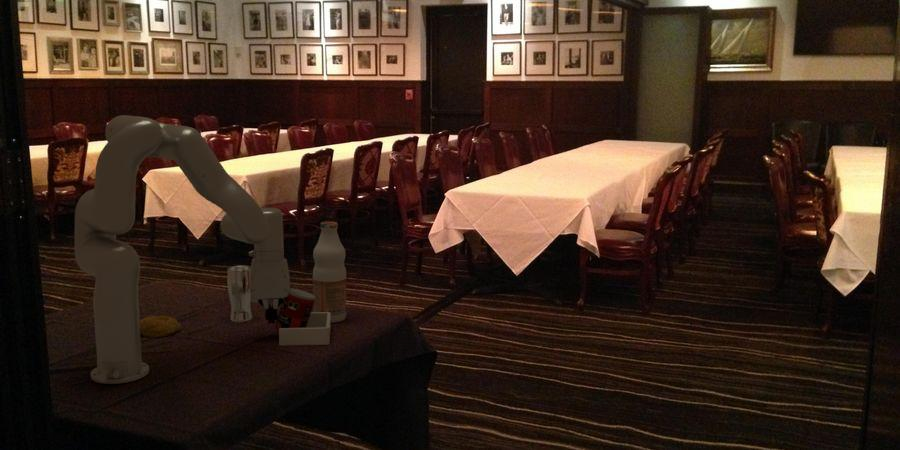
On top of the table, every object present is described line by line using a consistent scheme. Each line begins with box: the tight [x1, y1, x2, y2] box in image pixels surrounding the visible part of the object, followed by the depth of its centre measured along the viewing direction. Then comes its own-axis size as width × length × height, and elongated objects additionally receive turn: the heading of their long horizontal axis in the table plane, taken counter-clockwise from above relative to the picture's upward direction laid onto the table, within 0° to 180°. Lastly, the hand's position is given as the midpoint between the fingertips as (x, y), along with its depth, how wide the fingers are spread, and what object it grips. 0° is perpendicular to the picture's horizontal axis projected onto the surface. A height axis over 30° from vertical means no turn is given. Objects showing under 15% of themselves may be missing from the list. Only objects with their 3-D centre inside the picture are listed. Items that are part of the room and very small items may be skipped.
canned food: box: [274, 287, 315, 332], centre depth 218 cm, size 8×8×11 cm
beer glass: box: [226, 265, 253, 323], centre depth 232 cm, size 7×7×15 cm
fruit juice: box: [312, 221, 347, 324], centre depth 233 cm, size 9×9×28 cm
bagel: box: [139, 315, 182, 338], centre depth 220 cm, size 10×11×5 cm
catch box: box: [278, 311, 332, 347], centre depth 219 cm, size 15×13×4 cm
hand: (271, 322), depth 218 cm, fingers closed
